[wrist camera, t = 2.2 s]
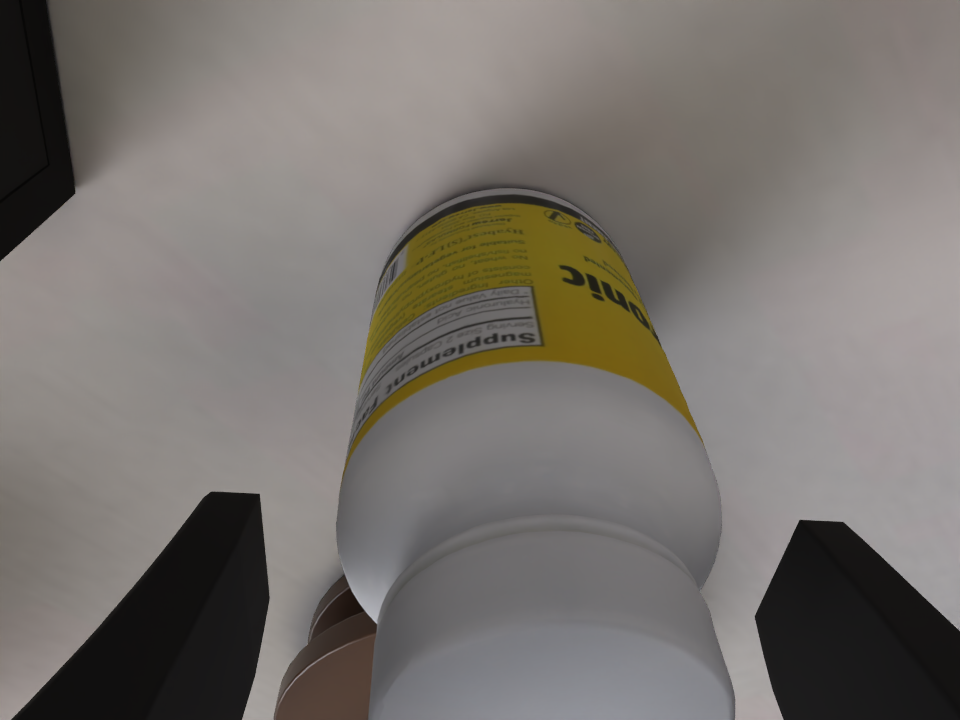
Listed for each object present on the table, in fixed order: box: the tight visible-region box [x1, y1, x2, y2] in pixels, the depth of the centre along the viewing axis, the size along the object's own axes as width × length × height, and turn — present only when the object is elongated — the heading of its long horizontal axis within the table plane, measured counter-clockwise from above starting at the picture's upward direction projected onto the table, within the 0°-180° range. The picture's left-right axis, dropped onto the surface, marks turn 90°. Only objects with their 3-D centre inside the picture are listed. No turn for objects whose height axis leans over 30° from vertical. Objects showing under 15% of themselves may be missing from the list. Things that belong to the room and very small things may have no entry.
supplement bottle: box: [336, 188, 735, 720], centre depth 12 cm, size 5×5×10 cm
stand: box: [274, 576, 377, 720], centre depth 22 cm, size 10×10×3 cm
